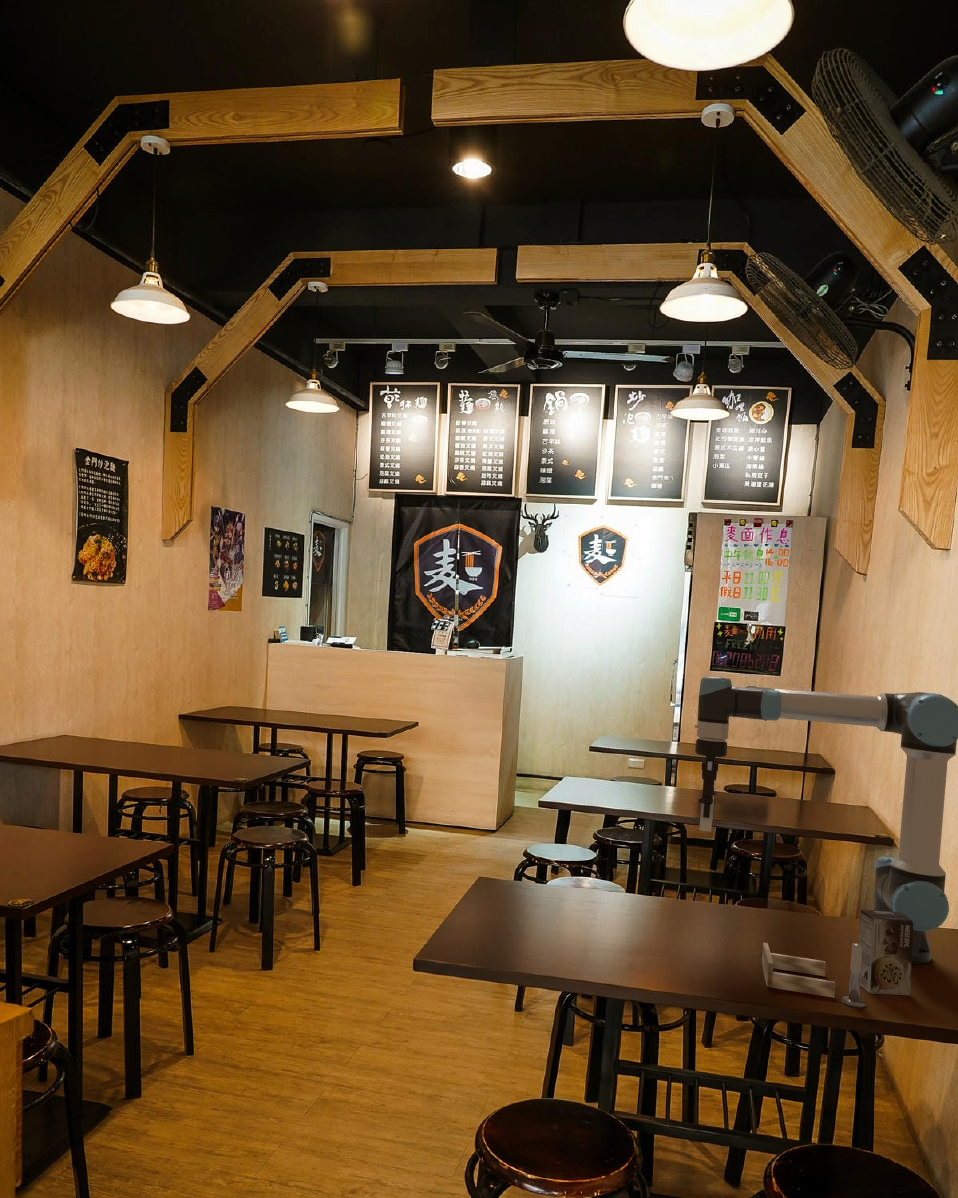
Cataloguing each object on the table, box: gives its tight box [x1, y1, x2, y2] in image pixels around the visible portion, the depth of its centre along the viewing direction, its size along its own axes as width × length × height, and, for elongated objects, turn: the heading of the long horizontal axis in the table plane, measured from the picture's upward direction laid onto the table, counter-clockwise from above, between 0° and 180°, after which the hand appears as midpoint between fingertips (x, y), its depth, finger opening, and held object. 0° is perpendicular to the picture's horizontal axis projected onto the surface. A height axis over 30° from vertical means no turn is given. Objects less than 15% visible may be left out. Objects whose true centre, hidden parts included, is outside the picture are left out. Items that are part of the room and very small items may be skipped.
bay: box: [761, 942, 836, 999], centre depth 195 cm, size 14×14×5 cm
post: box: [841, 942, 866, 1009], centre depth 185 cm, size 4×4×12 cm
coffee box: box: [858, 909, 913, 996], centre depth 195 cm, size 9×6×16 cm
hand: (706, 826), depth 219 cm, fingers open, 13 cm apart
